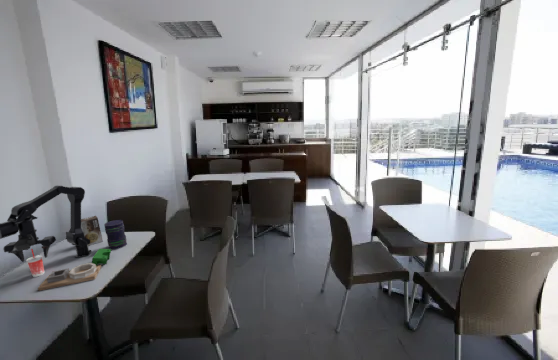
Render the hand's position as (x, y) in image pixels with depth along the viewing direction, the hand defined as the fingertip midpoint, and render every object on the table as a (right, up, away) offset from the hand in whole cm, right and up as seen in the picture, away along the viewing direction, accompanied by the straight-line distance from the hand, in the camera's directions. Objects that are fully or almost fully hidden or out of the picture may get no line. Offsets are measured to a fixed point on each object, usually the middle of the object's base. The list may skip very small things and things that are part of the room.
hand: (34, 259), depth 136 cm
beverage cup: (0, -8, +2) cm, 8 cm away
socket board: (+21, -8, -4) cm, 23 cm away
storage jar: (+24, -1, +30) cm, 39 cm away
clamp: (+27, -5, +11) cm, 29 cm away
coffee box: (+4, 0, +37) cm, 38 cm away
